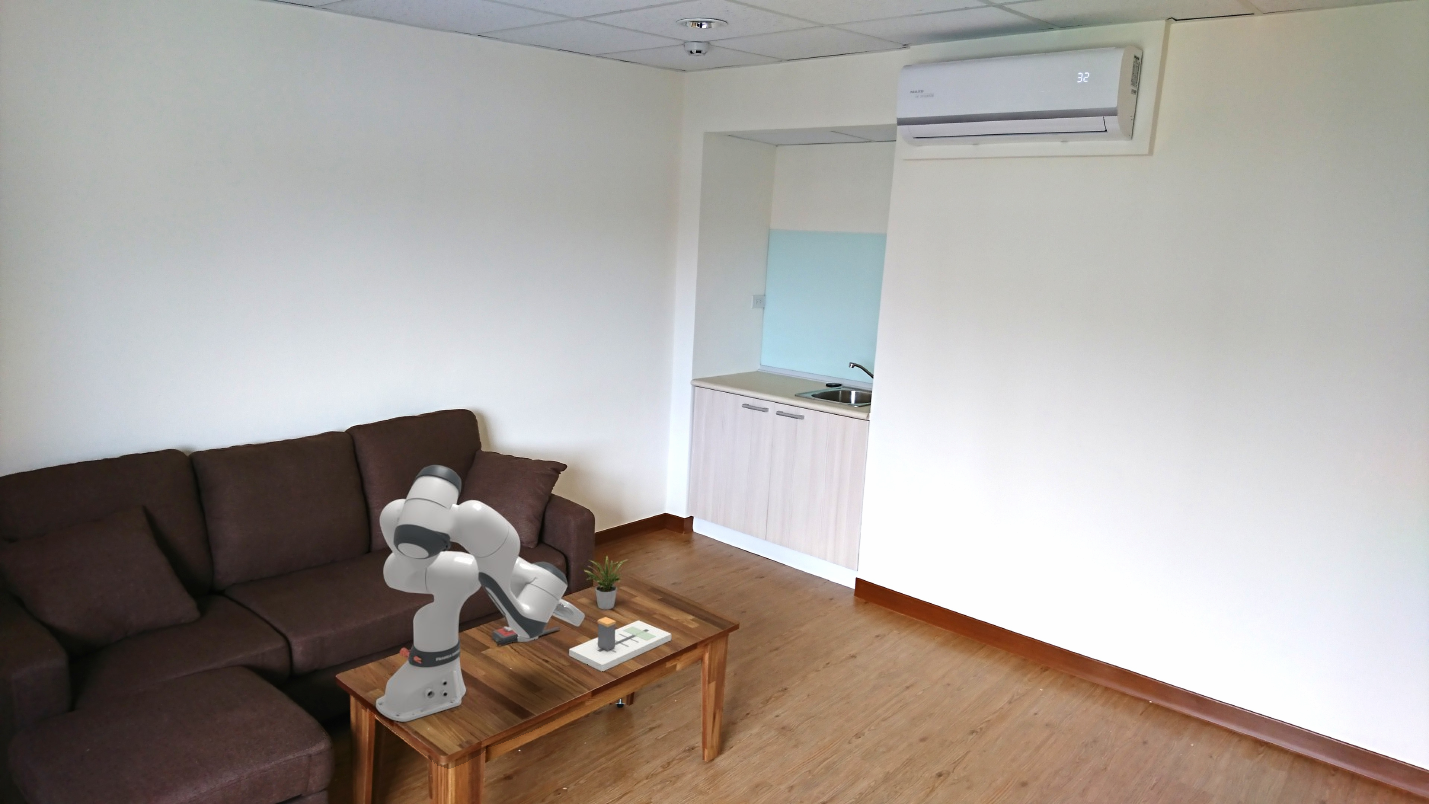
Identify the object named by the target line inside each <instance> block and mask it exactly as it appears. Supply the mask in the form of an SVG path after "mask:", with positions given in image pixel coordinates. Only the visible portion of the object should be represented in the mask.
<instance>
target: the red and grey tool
mask: <svg viewBox="0 0 1429 804" xmlns="http://www.w3.org/2000/svg"><path fill="white" fill-rule="evenodd" d="M557 630H560V627H559V626H557V627H556V626H555V627H552V628H549V629H545V630H544V632H543V634H541V635H539V636H537V637H534V638H530V639H527V638H525V637H522V636H520V635H518V634H516V633H515V632H514V631H513V630H512V629H511V628H510V627H509V626H503V628H499V629H496V630H495V629H494V630H492V632H491V633H492V640H493V641H494V642H496V644H497V646H506V645H509V644H513V643H515V642H518V643H528V642H532V641H534V639H535V640H538V639H539V637H541V636H543V635H547V634H549V633H553V632H554V631H557ZM512 642H513V643H512Z"/></svg>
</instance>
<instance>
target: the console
mask: <svg viewBox="0 0 1429 804" xmlns="http://www.w3.org/2000/svg"><path fill="white" fill-rule="evenodd" d="M670 641H672V633H670V632H668V631H666V630H663V629H660V628H658V627H655V626H653V625H651V624H648V623H645V622H644V621H640V620H639V619H638V620H636V621H634V622H632V623H629V624H627V625H623V626H622V627H619V628H616V629H615V648H613V649H610V650H608V651H607V650H604V649H602V648H600V647H598V636H597V637H595V638H592V639H590V640H588V641H586V642H583V643H581V644H579V645H576V646H574V647H571V648H569V650H568V651H569V653H568V655H569V657H572V658H573V659H575V660H577V661H579V662H581V663H583V664H585V665H587V664H588V666H589V667H592V668H594V669H595V670H598V671H599V672H602V671H603V672H604V671H607V670H609V669H611V668H613V667H616V666H617V665H620V664H622V663H624V662H627V661H629V660H631V659H633V658H635V657H637V656H639V655H642V654H643V653H644V654H645V653H646V652H648V651H650V650H653V649H654V648H655V649H656V647H659V646H661V645H664V644H666V643H668V642H670Z"/></svg>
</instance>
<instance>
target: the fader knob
mask: <svg viewBox="0 0 1429 804" xmlns="http://www.w3.org/2000/svg"><path fill="white" fill-rule="evenodd" d="M616 624H617V621H616V620H614V619H611V618H609V617H607V616H604V617H602V618H600V619H597V637H598V647H600V648H602V649H604V650H607V651H608V650H610V649H613V648H615V630H616Z"/></svg>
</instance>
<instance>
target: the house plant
mask: <svg viewBox="0 0 1429 804" xmlns="http://www.w3.org/2000/svg"><path fill="white" fill-rule="evenodd" d="M628 560H629V559H623V560H621V561H619V562H618V561H615V562H614V563H613V560H611V561H610V565H609V557H608V555H606V557H605V563H604V567H603V566H602V564H601V563H600V562H597V561H596V560H595V561H596V562H595V561H594V560H591V559H588V561H590V562H592V564H594V565H595V566H596V568H597V569H598V571H597V570H596V569H595V568H593V566H590V565H587V567H588V568H591V569H592V570H594V571H595V572H596V573H597V574H598V575H599V576H598V575H597V574H594V573H593V572H592V571H589V570H587V569H583V571H584V573H587V574H588V576H590V577H588V578H586V581H588V580H595V582H596V583H598V585H597V586H596V587H595V589H594V590H595V595H596V596H595V597H596V602H597V607H598V608H599V609H601V610H611V609H613V608H614V607H615V602H616V597H617V590H618V587H617V586H616V585H614V584H615V583H616V582H618V583H621V580H622V578H620V577H622V575H621V574H617V571H620V570H621V569H622V567H620V566H621V565H622V564H624V562H626V561H628ZM617 563H618V564H617ZM615 564H616V566H615ZM614 566H615V568H614V570H613V567H614ZM619 567H620V569H619ZM612 570H613V572H612Z"/></svg>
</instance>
